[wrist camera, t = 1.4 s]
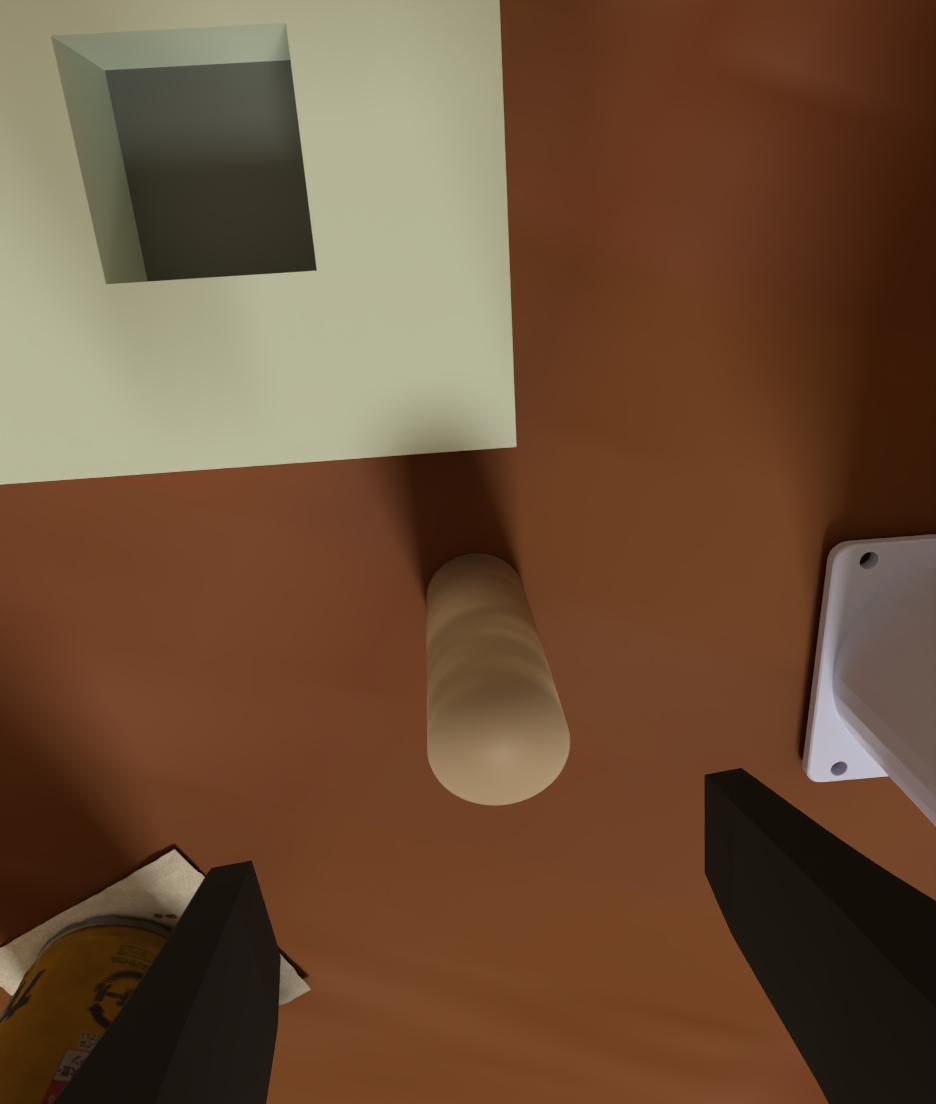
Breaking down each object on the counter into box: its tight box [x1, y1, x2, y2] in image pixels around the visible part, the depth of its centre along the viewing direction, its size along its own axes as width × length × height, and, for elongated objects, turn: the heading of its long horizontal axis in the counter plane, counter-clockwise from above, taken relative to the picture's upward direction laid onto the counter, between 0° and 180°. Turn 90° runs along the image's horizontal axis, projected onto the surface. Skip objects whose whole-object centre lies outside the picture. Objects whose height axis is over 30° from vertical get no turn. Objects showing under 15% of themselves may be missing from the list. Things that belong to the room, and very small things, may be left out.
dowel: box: [426, 553, 570, 805], centre depth 18 cm, size 3×3×7 cm
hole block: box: [0, 0, 516, 484], centre depth 15 cm, size 12×12×3 cm
